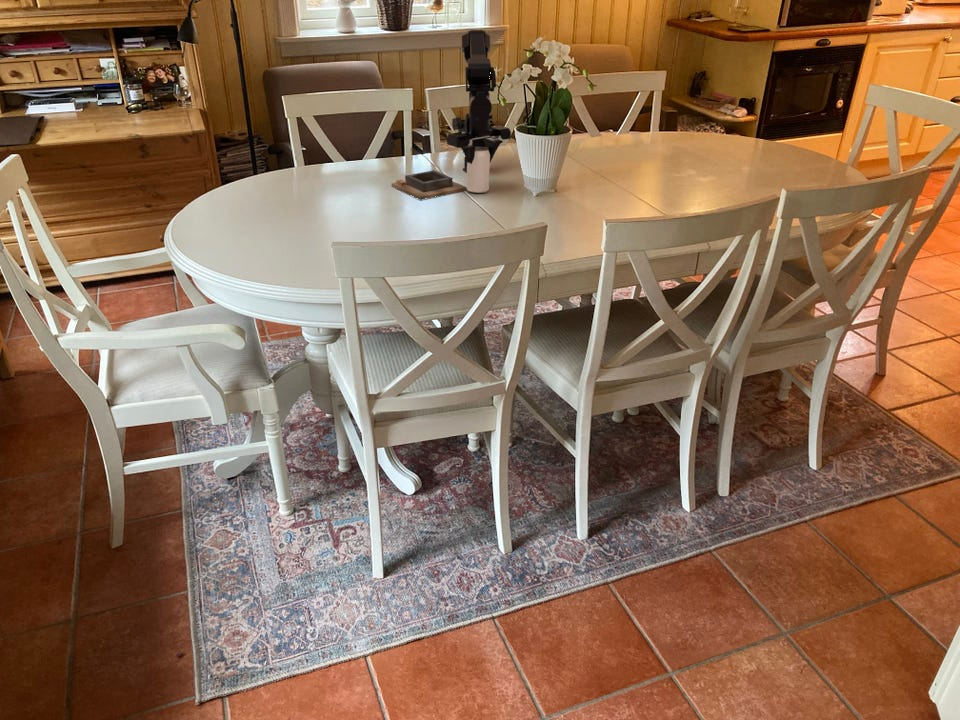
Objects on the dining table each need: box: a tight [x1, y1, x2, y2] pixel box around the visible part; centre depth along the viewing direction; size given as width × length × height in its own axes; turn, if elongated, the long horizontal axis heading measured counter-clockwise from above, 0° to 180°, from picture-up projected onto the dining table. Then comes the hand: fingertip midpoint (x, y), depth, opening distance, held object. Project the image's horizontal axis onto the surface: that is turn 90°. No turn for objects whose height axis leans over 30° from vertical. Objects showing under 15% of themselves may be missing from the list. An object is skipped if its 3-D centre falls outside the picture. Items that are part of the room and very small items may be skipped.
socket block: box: [391, 169, 468, 200], centre depth 220 cm, size 16×16×4 cm
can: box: [466, 147, 491, 194], centre depth 216 cm, size 6×6×12 cm
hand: (479, 166), depth 216 cm, fingers closed on can, 5 cm apart
